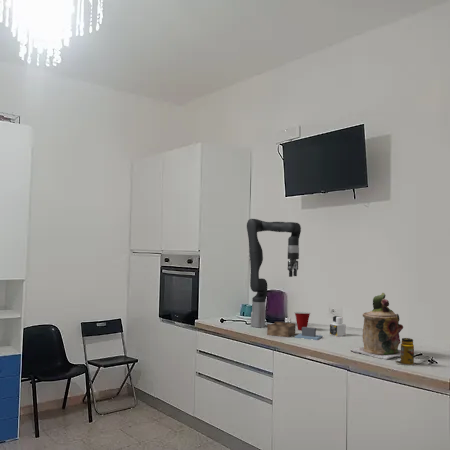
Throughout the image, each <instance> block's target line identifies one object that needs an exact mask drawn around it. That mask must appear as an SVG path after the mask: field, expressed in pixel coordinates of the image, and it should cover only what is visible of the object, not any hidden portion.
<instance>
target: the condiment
mask: <svg viewBox="0 0 450 450" xmlns="http://www.w3.org/2000/svg"><path fill="white" fill-rule="evenodd" d="M400 350H401V356H400V360H394V362H395V364H397V365H403V366H405V365H406V366H414V365H413V364H415V362H414V361H415V360H414V359H415V345H414V339H413V338H409V337H403V338H401V343H400Z"/></svg>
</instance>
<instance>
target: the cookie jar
mask: <svg viewBox="0 0 450 450" xmlns="http://www.w3.org/2000/svg"><path fill="white" fill-rule="evenodd" d="M385 298H386V294H385V292H382V293H381V294H378V295H375V296H373V298H372V308H373V309H372V310H370V311H368V312H367V311H366V312H363V313H362V318H363V328H362V342H363V346H361V347H360V346H359V347H353V348H349V350H350V352H353V353H356V354H362V355H365V356H369V357H373V358H377V359H381V360H388V359H392V358H396V357H399V358H401V349H399V345H401V343H402V341H401V339H400V338H401V337H400V332H401V331H402V330H403V329H404V326H403V324H400V323H399V322H400V315H399V314H398V313H395V312H394V311H393V310H392V309H390V308H389V306H390V302H389V300H388V299H385Z"/></svg>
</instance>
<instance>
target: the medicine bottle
mask: <svg viewBox="0 0 450 450" xmlns="http://www.w3.org/2000/svg"><path fill="white" fill-rule="evenodd" d="M343 320H344V319H343V317H342V316H340V315H334V316H333V317H332V323H329V335H330V334H331V335H330V336H333V335H335V337H344V336H343V335H345V336H346V327H347V326H346V324H345V323H343V322H344V321H343Z"/></svg>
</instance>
